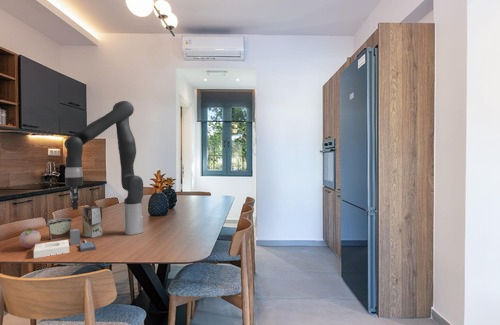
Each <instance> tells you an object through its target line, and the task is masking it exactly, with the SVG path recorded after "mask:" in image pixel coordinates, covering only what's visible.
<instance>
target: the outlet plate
mask: <svg viewBox="0 0 500 325" xmlns="http://www.w3.org/2000/svg"><path fill="white" fill-rule="evenodd" d="M62 253H63V254H68V253H70V241H69V239H63V240H55V241H49V242H48V241H47V242H42V243H37V244H35V246H34V249H33V259H38V258H39V259H40V258H43V257H49V256H50V255H51V256H57V255H63V254H62ZM56 254H57V255H56Z"/></svg>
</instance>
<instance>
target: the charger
mask: <svg viewBox="0 0 500 325" xmlns="http://www.w3.org/2000/svg"><path fill="white" fill-rule="evenodd" d="M69 240H70V241H69V246H75V245H77V244H78V245H79V243H81V230H80V228H75V229H71V230H70V236H69Z"/></svg>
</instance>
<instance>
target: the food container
mask: <svg viewBox="0 0 500 325" xmlns="http://www.w3.org/2000/svg"><path fill="white" fill-rule="evenodd" d="M72 222H73V218H72V217H59V218H54V219H50V220H48V221H47V222H46V223H47V224H46V226H47V227H48V232H49V240H50V241H54V240H55V241H57V240H60V239H64V238H67V237H69V238H70V230H72Z"/></svg>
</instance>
